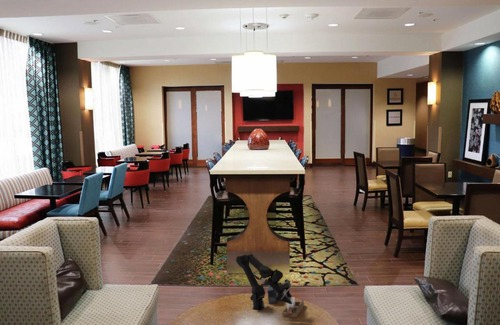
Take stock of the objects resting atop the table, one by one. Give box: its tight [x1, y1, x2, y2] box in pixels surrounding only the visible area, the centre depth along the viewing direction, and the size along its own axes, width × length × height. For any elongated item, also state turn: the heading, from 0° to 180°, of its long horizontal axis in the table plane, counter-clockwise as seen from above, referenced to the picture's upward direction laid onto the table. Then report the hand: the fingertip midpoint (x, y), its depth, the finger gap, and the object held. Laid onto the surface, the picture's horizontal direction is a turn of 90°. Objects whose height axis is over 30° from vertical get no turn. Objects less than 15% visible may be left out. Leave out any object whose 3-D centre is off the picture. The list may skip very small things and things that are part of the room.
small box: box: [267, 284, 278, 305], centre depth 315 cm, size 11×6×10 cm, turn 174°
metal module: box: [285, 296, 296, 313], centre depth 290 cm, size 4×4×9 cm
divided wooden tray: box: [281, 299, 305, 318], centre depth 294 cm, size 10×19×5 cm, turn 159°
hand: (292, 302), depth 289 cm, fingers closed on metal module, 4 cm apart
